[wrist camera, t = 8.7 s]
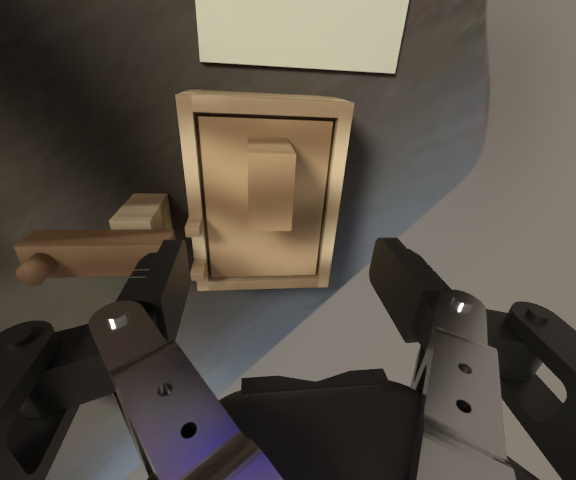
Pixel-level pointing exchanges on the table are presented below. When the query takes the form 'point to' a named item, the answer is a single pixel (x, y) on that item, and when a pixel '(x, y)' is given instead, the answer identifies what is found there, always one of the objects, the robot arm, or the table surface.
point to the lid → (264, 192)
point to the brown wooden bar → (85, 252)
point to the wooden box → (155, 206)
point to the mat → (303, 33)
